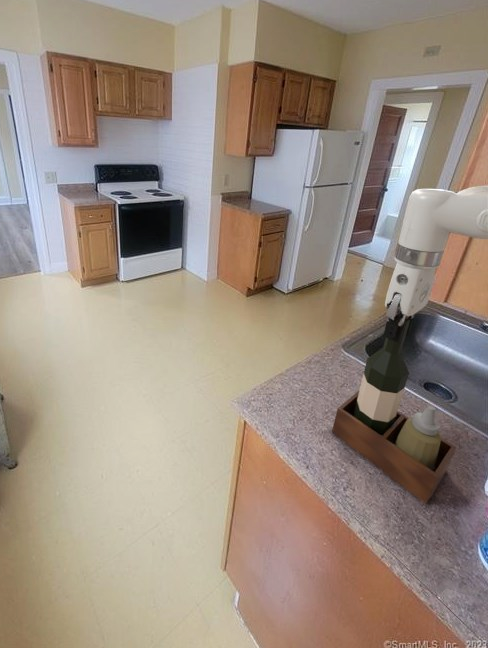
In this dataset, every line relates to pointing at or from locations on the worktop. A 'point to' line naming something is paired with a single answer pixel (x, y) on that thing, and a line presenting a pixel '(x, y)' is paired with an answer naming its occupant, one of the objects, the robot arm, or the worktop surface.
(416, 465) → the bottle rack
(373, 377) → the wine bottle
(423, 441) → the squeeze bottle
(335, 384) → the worktop surface
